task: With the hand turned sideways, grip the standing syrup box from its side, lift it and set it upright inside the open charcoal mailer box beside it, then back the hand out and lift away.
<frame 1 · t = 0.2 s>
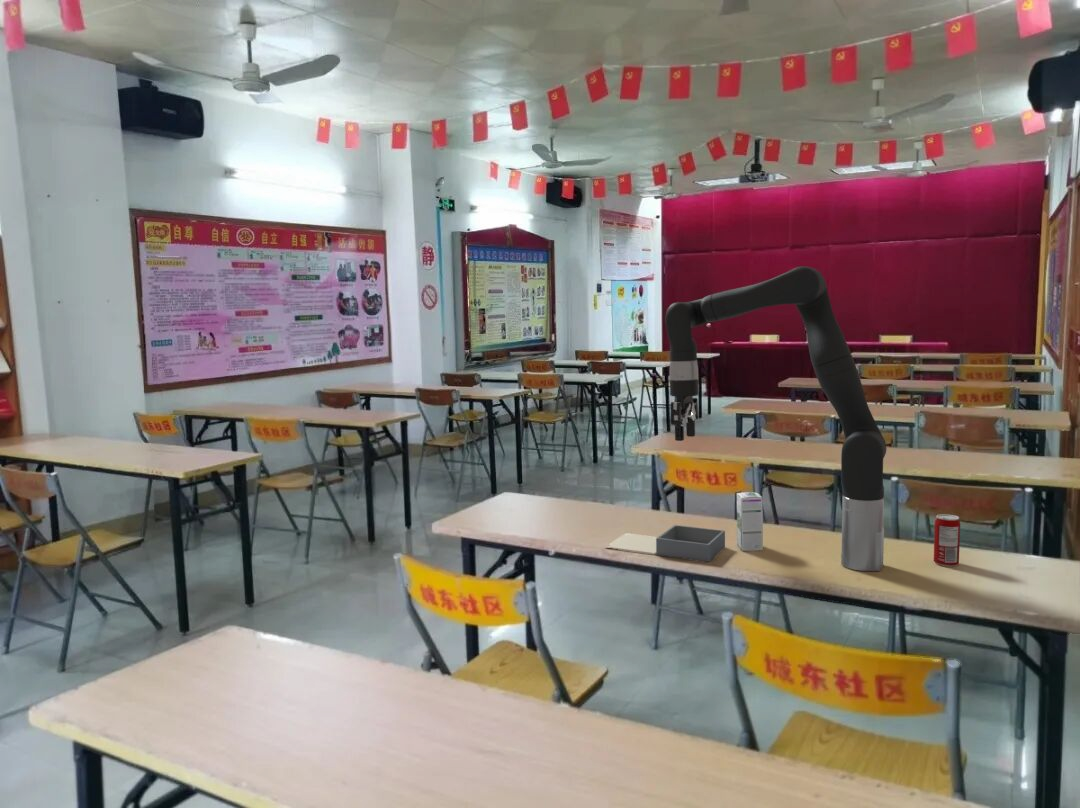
hand: (685, 438, 210), 29 cm above the table, tool pointing down, fingers open, 8 cm apart
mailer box: (691, 551, 206), on the table
syrup box: (749, 548, 208), on the table
soda can: (946, 564, 192), on the table
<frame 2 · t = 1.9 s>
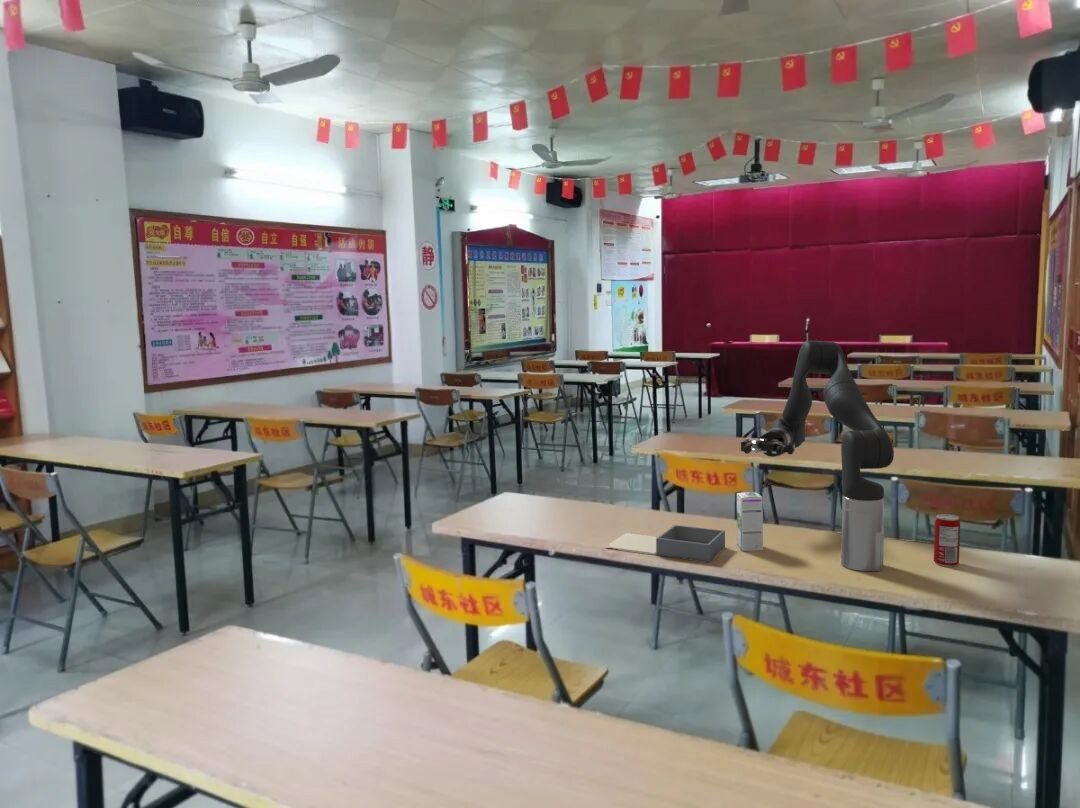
hand: (761, 451, 216), 24 cm above the table, tool horizontal, fingers open, 8 cm apart
nothing on the table moved.
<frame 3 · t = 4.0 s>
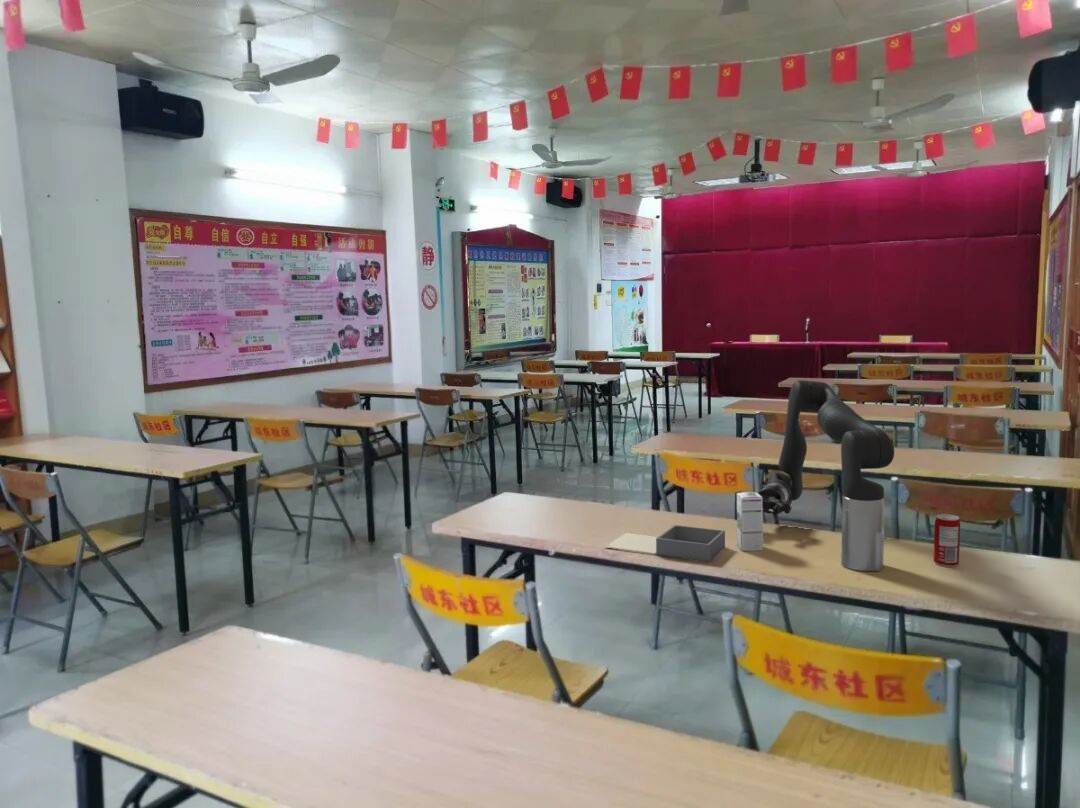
hand: (758, 510, 215), 8 cm above the table, tool horizontal, fingers open, 8 cm apart
nothing on the table moved.
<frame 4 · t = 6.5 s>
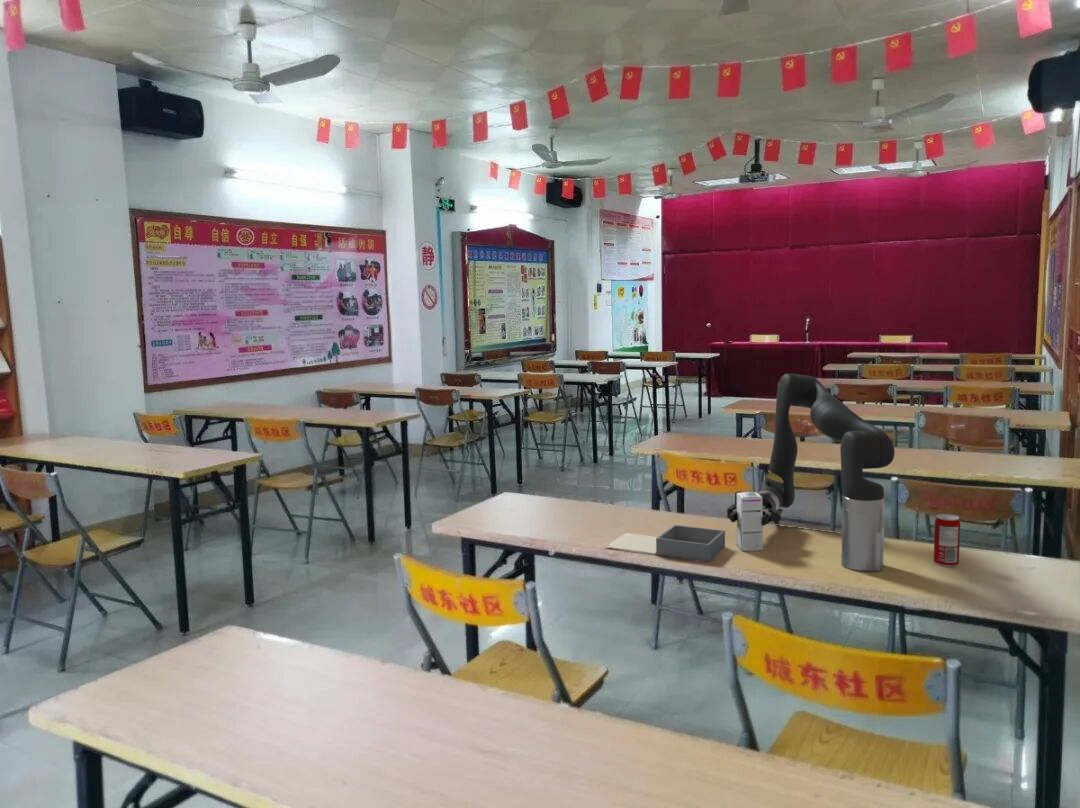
hand: (747, 520, 205), 8 cm above the table, tool horizontal, fingers closed on syrup box, 7 cm apart
syrup box: (749, 548, 208), on the table, touching gripper
everything else where it was.
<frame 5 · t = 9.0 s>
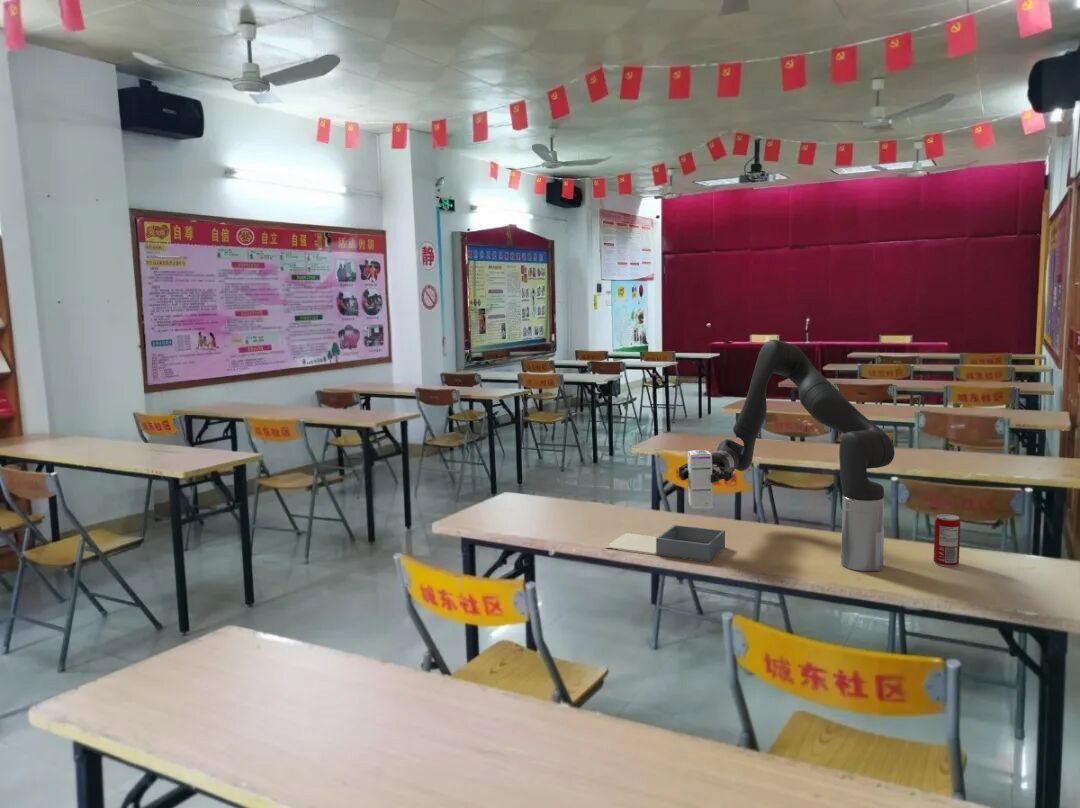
hand: (697, 477, 203), 20 cm above the table, tool horizontal, fingers closed on syrup box, 7 cm apart
syrup box: (700, 507, 206), point 12 cm above the table, touching gripper
everything else where it was.
when the fingers open (10 cm above the table, at t = 11.8 s): syrup box drops 1 cm, resting on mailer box.
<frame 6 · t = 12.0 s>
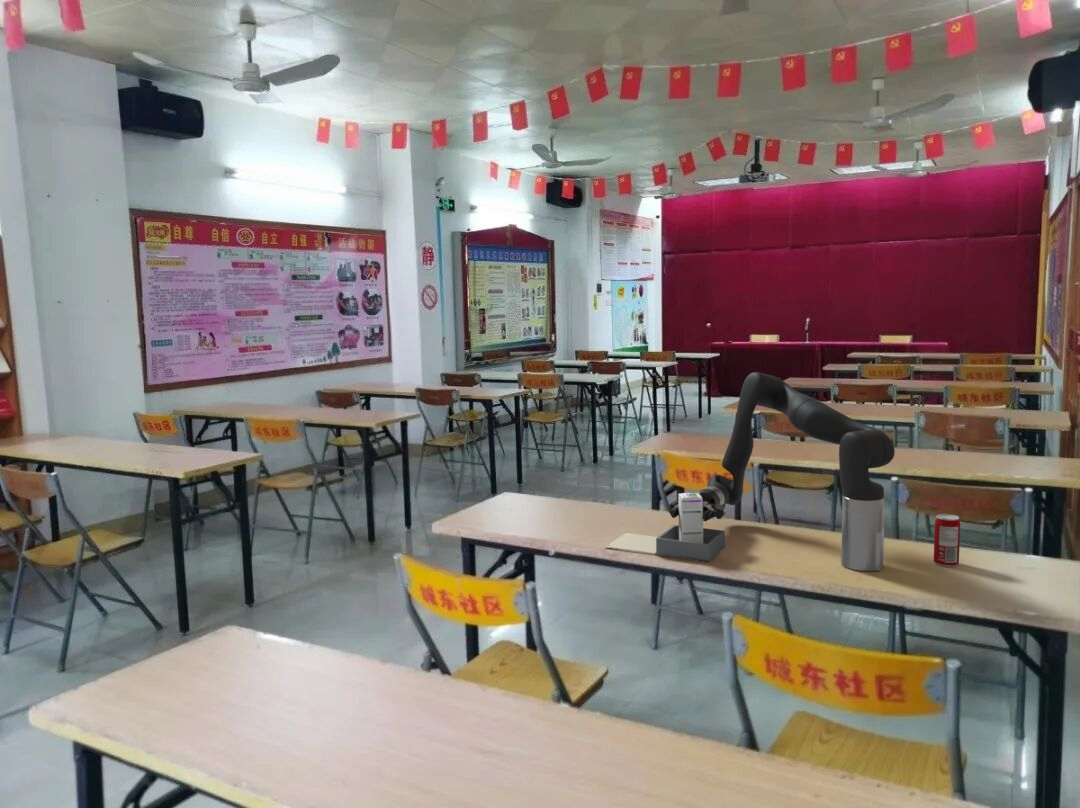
hand: (688, 515, 204), 10 cm above the table, tool horizontal, fingers open, 8 cm apart
syrup box: (690, 549, 207), resting on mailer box
everything else where it was.
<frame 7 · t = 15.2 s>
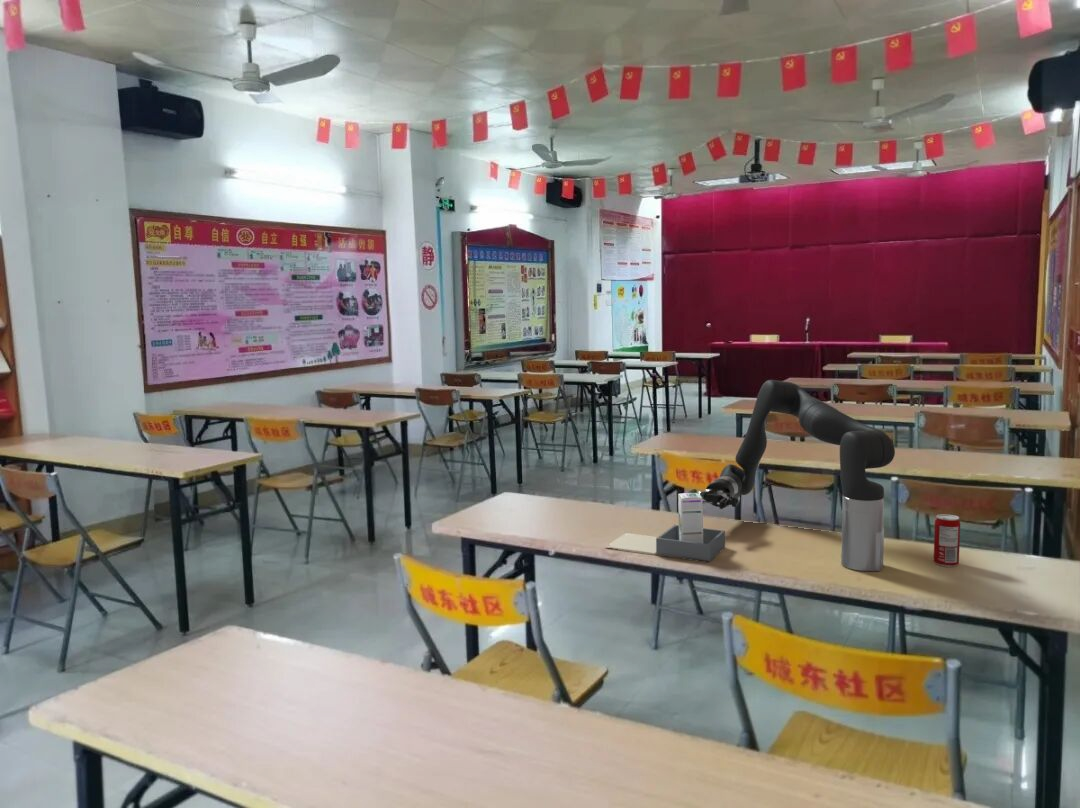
hand: (705, 503, 216), 10 cm above the table, tool horizontal, fingers open, 8 cm apart
nothing on the table moved.
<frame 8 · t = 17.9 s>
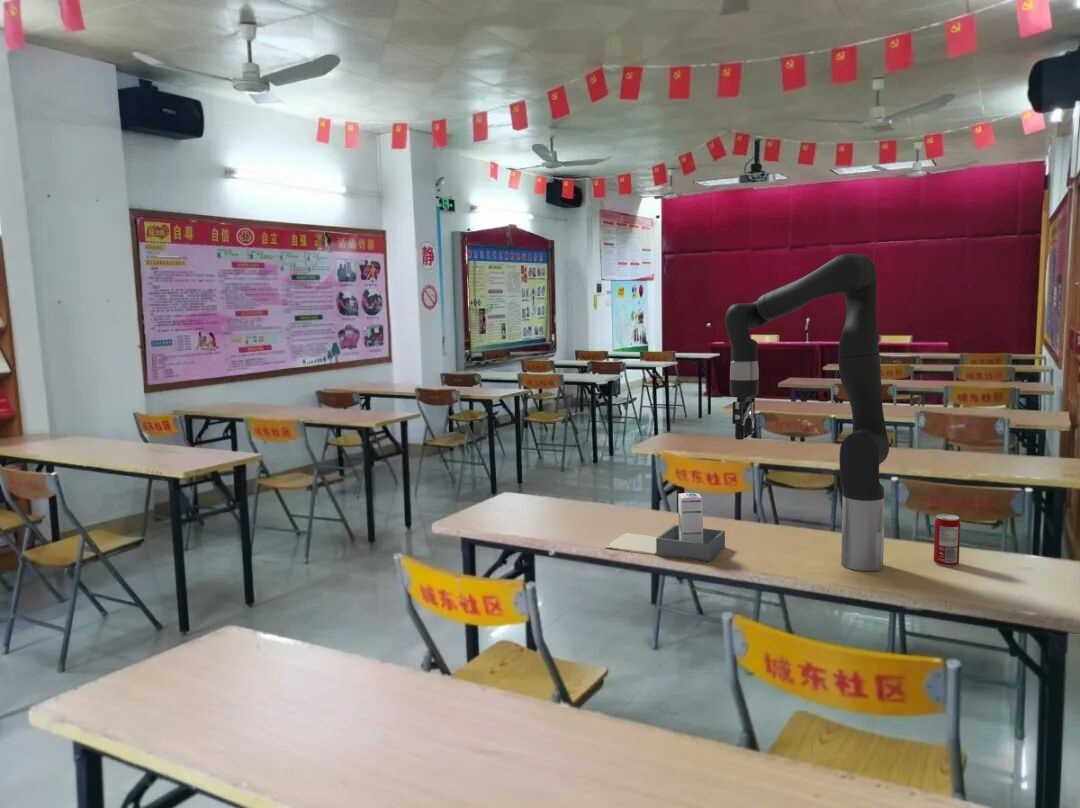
hand: (743, 437, 214), 28 cm above the table, tool pointing down, fingers open, 8 cm apart
nothing on the table moved.
at the end: syrup box inside the target area on the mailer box (0.2 cm from its centre), point 0.3 cm above the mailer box's base; syrup box tilted 0°; the gripper is holding nothing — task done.
